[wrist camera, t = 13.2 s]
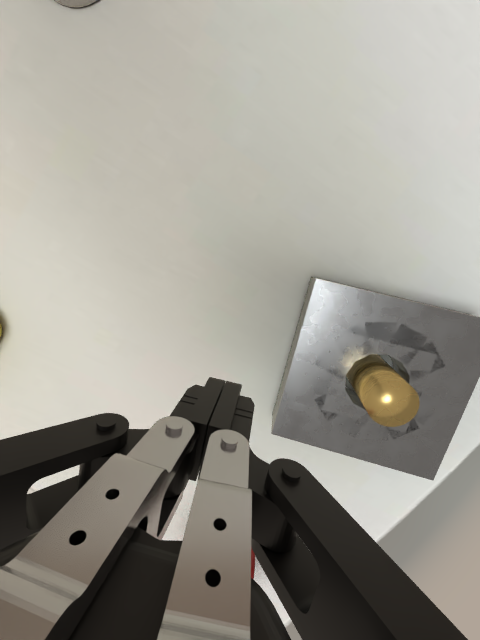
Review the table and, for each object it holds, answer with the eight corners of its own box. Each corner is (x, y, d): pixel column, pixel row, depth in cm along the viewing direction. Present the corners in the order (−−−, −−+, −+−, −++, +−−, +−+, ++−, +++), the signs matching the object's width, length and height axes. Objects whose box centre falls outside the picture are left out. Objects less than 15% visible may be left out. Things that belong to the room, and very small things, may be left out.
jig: (311, 276, 29) (316, 278, 26) (472, 315, 28) (503, 323, 24) (272, 413, 33) (271, 433, 29) (414, 453, 32) (433, 480, 28)
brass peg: (350, 345, 30) (375, 374, 22) (388, 355, 30) (427, 387, 22) (339, 379, 31) (359, 419, 23) (376, 389, 31) (409, 432, 23)
